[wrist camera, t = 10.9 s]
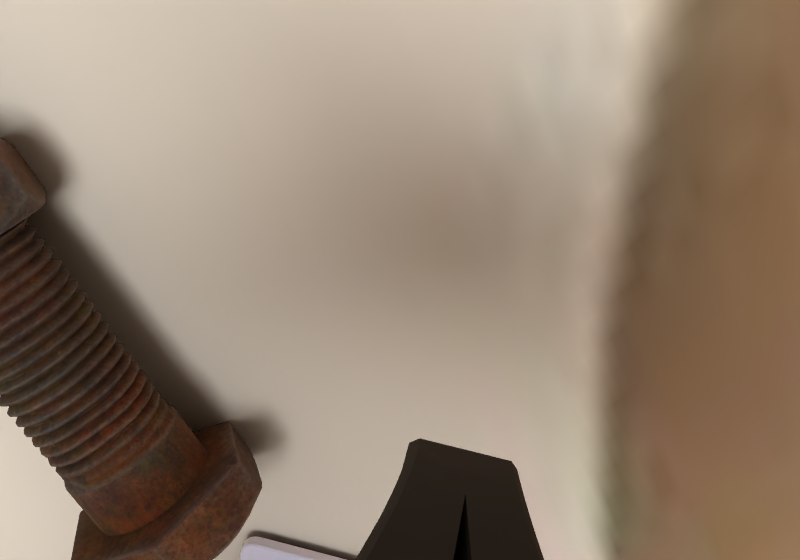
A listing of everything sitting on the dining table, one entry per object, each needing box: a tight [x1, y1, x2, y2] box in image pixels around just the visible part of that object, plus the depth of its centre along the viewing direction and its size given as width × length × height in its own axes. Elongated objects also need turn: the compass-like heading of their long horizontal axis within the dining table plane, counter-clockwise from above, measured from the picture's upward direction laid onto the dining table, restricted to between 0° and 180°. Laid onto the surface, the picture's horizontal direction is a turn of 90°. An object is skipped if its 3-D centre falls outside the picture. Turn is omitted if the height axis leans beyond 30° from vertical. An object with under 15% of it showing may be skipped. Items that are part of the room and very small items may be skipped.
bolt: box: [0, 139, 262, 560], centre depth 19 cm, size 6×5×15 cm
